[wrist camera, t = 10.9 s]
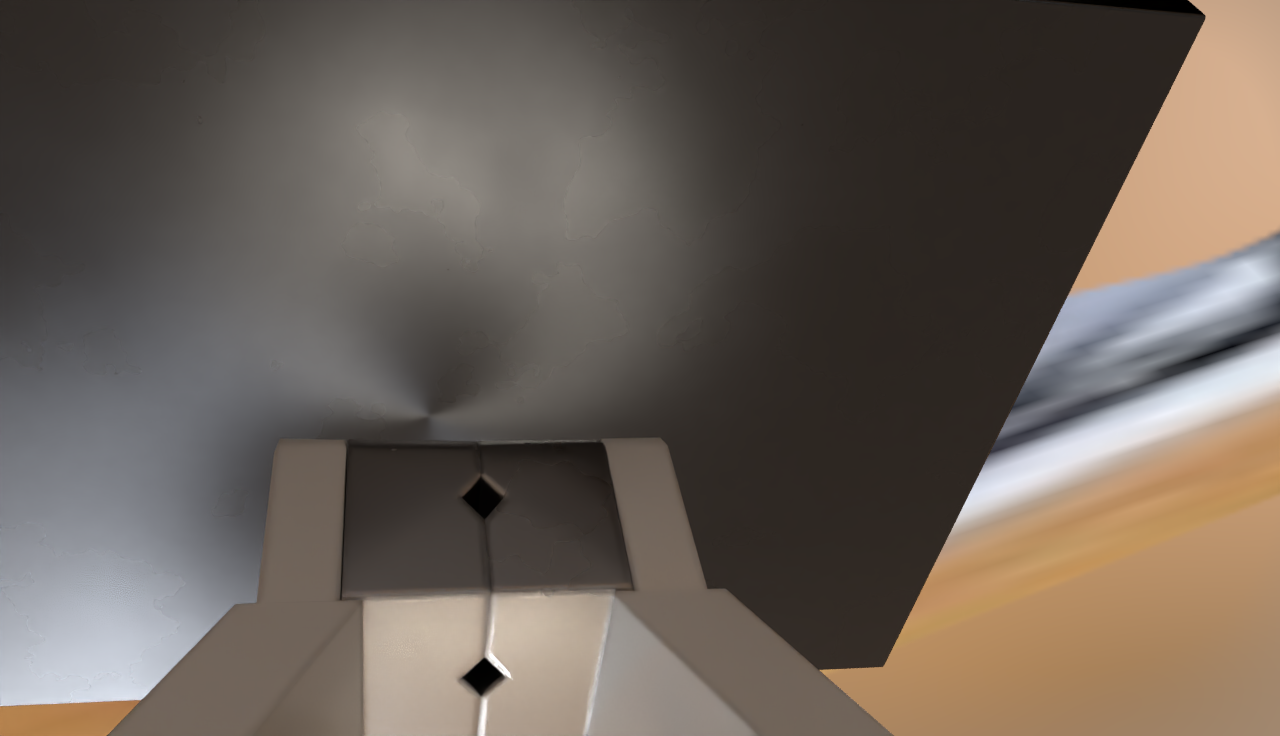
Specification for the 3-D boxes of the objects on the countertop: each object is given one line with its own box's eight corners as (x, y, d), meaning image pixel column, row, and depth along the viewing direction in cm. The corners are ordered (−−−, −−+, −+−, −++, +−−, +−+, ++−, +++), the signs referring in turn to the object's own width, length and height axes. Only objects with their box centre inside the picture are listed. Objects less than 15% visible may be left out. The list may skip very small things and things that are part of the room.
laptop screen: (-540, -181, 12) (-595, -151, 11) (1176, -14, 16) (1208, 16, 16) (-135, 671, 22) (-151, 714, 21) (871, 633, 26) (884, 667, 25)
